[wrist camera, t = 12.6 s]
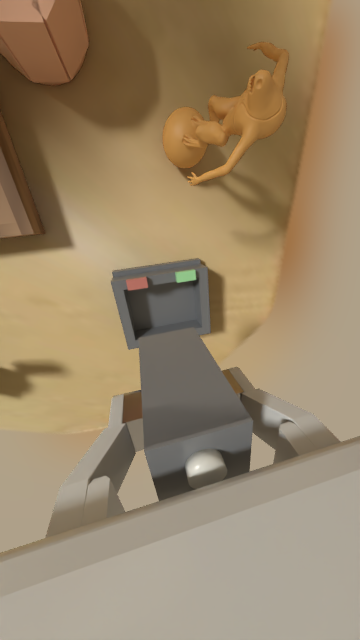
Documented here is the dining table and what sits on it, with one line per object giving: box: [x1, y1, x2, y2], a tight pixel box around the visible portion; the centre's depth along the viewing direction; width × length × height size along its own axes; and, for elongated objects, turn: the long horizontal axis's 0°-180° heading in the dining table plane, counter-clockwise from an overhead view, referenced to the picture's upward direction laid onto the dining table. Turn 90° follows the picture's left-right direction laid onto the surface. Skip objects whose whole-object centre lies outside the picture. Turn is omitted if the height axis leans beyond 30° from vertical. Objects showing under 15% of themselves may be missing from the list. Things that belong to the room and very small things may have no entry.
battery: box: [139, 327, 253, 501], centre depth 9 cm, size 3×4×6 cm, turn 6°
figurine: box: [163, 42, 289, 185], centre depth 14 cm, size 8×6×12 cm
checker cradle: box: [111, 258, 211, 349], centre depth 23 cm, size 10×9×4 cm
